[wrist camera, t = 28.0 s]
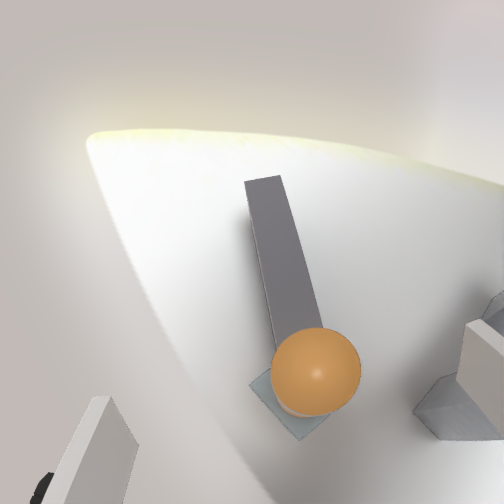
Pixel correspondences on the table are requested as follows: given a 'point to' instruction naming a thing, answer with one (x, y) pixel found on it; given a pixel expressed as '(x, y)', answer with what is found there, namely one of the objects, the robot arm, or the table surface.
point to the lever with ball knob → (297, 313)
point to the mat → (294, 424)
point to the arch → (461, 398)
